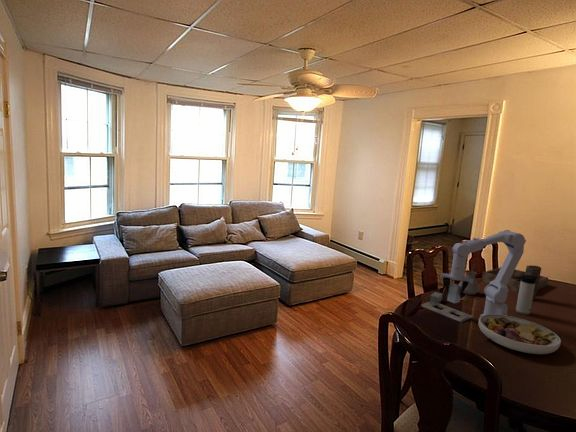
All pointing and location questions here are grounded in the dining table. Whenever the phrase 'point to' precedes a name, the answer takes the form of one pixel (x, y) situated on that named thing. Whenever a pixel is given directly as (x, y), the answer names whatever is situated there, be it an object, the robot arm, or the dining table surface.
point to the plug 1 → (436, 297)
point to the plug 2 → (454, 293)
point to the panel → (446, 311)
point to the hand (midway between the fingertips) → (454, 294)
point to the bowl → (519, 334)
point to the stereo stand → (512, 284)
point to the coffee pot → (471, 288)
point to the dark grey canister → (534, 272)
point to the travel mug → (525, 294)
